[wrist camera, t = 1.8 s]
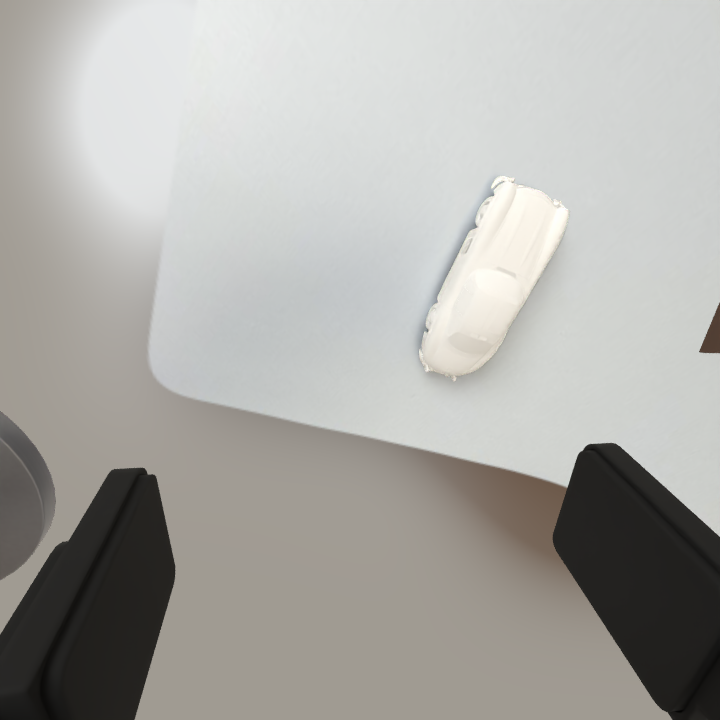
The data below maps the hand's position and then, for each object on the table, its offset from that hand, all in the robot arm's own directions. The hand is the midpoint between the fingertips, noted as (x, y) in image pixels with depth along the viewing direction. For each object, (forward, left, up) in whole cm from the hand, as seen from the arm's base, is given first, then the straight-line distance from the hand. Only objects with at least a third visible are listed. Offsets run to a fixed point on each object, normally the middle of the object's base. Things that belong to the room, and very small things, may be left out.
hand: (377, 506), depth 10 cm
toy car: (+9, 0, -18) cm, 20 cm away
